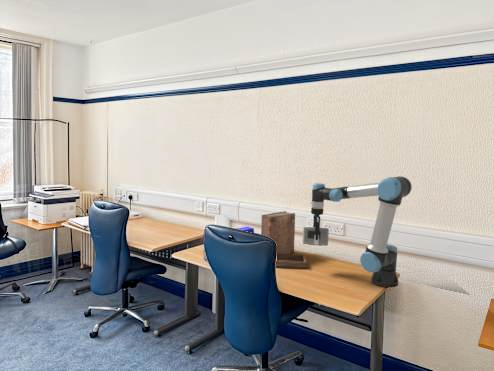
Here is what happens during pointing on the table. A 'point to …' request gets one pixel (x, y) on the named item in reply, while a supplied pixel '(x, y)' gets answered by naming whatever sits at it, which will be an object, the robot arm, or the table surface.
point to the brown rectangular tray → (291, 261)
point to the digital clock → (309, 236)
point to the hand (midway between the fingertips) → (315, 242)
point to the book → (280, 230)
